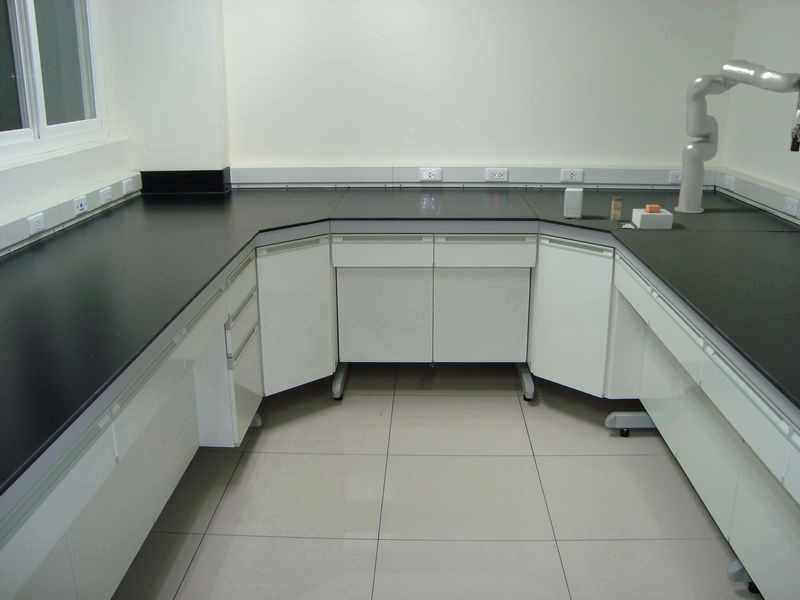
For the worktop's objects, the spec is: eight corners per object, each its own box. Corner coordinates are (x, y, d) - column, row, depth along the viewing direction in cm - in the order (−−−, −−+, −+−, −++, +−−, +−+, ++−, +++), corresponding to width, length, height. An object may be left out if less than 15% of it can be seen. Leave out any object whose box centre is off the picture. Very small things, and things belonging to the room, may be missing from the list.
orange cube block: (644, 216, 307) (646, 204, 306) (656, 216, 307) (657, 204, 306) (648, 218, 303) (649, 206, 302) (659, 218, 303) (660, 206, 301)
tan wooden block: (610, 220, 318) (612, 197, 315) (618, 220, 318) (620, 197, 315) (612, 221, 315) (614, 198, 312) (620, 221, 315) (622, 198, 312)
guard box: (631, 222, 312) (633, 208, 310) (662, 222, 312) (664, 209, 310) (639, 228, 301) (640, 214, 299) (671, 229, 300) (673, 214, 298)
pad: (610, 225, 308) (610, 223, 308) (630, 225, 307) (630, 223, 307) (615, 229, 300) (615, 227, 300) (635, 229, 300) (635, 227, 300)
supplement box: (581, 216, 326) (584, 188, 322) (580, 219, 319) (582, 190, 315) (565, 215, 328) (566, 187, 324) (562, 218, 321) (564, 190, 317)
